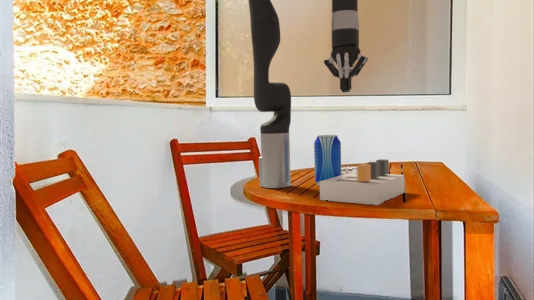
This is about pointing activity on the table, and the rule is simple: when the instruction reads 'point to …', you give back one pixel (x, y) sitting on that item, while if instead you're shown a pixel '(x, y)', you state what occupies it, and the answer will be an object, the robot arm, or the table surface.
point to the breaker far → (383, 166)
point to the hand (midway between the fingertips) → (345, 91)
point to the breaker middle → (375, 169)
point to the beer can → (327, 157)
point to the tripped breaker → (364, 172)
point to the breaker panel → (361, 189)
